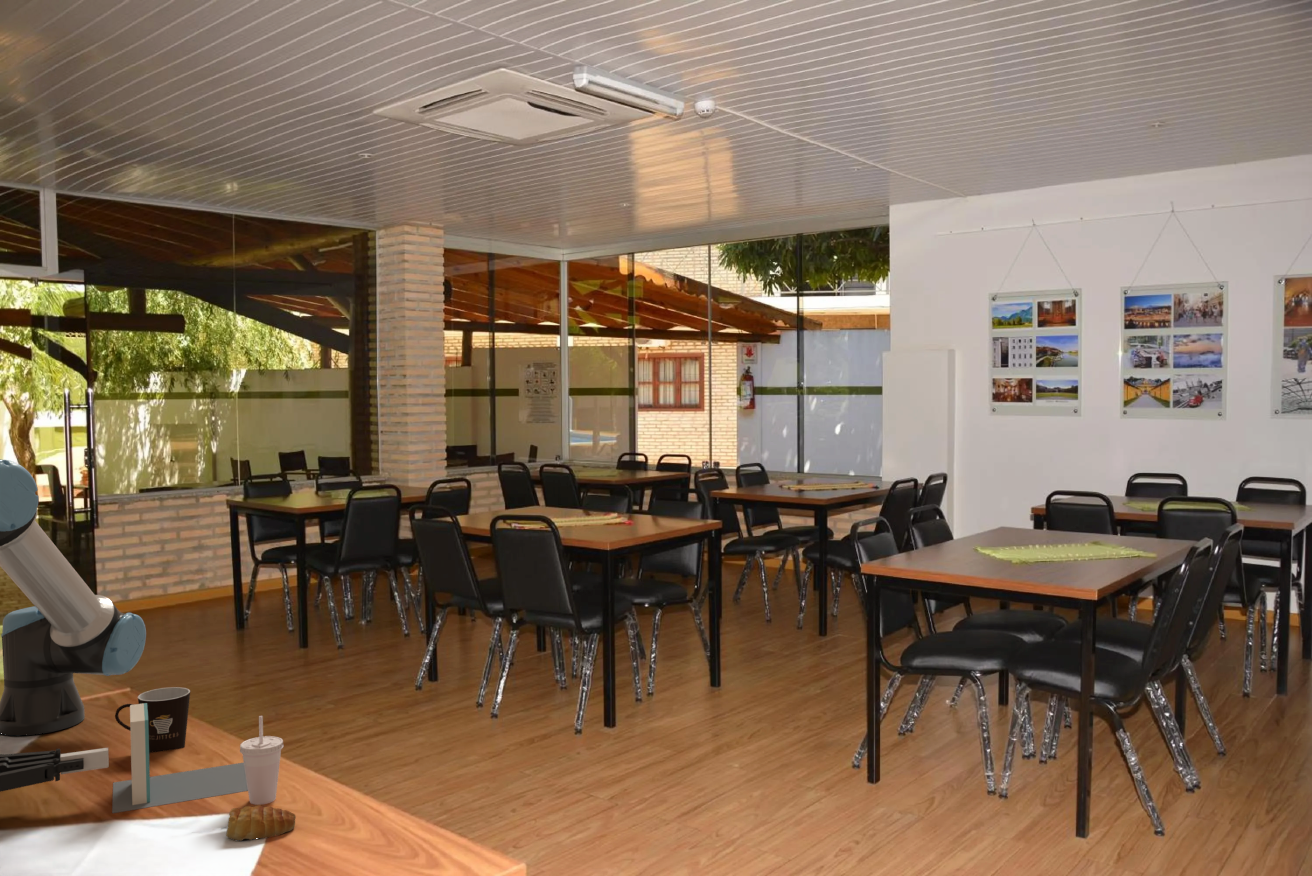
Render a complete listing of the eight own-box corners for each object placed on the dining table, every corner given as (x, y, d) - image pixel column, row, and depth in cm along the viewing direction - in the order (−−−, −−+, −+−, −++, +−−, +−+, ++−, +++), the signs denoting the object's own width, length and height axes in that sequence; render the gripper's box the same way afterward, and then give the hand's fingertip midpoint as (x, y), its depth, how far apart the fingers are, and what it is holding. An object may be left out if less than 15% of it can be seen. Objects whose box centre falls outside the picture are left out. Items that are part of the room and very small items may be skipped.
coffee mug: (200, 741, 192) (199, 687, 192) (174, 757, 184) (173, 701, 183) (141, 739, 194) (140, 686, 193) (112, 755, 185) (111, 700, 185)
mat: (113, 786, 170) (113, 782, 170) (243, 765, 179) (243, 762, 179) (112, 817, 158) (112, 813, 158) (252, 793, 167) (252, 789, 167)
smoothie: (238, 813, 159) (236, 723, 158) (243, 797, 165) (241, 711, 165) (282, 809, 161) (281, 719, 160) (286, 793, 167) (284, 707, 166)
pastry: (297, 819, 157) (296, 795, 157) (293, 838, 151) (293, 812, 151) (230, 827, 155) (229, 801, 155) (224, 846, 148) (223, 820, 148)
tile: (132, 783, 170) (129, 705, 169) (149, 781, 171) (147, 703, 170) (132, 805, 161) (130, 722, 160) (150, 802, 162) (148, 720, 161)
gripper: (-65, 793, 159) (109, 767, 169) (-81, 824, 147) (108, 795, 158) (-67, 744, 158) (108, 722, 169) (-82, 772, 147) (106, 746, 157)
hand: (108, 757), depth 163 cm, fingers closed
